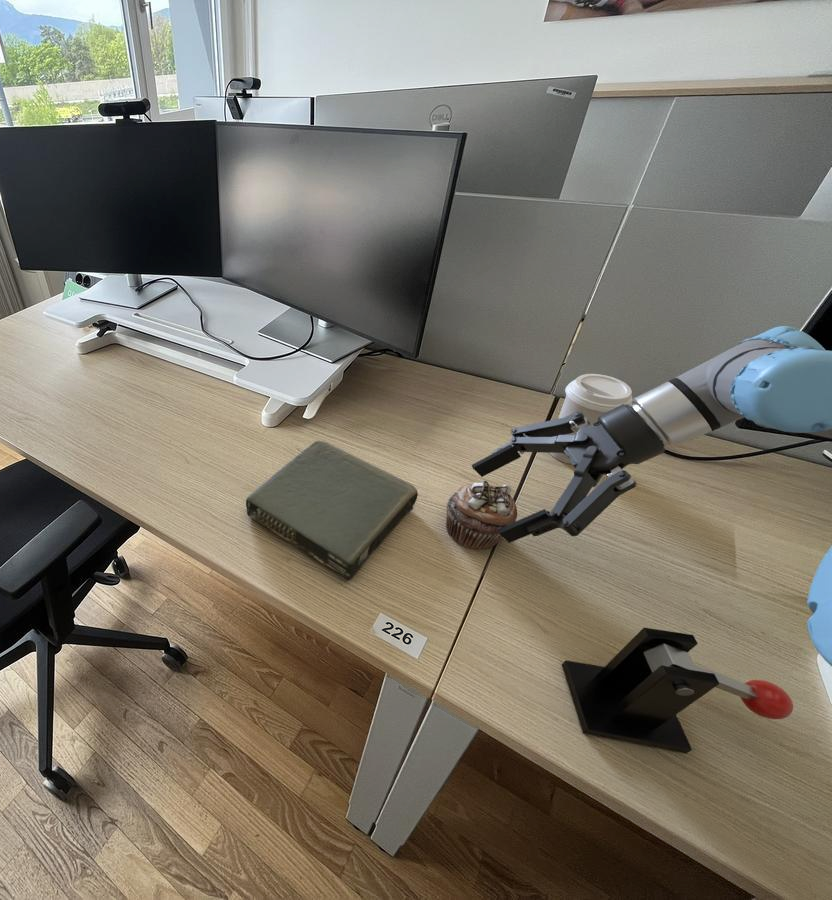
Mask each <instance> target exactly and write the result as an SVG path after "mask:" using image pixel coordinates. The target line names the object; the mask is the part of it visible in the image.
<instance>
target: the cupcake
mask: <svg viewBox="0 0 832 900" xmlns="http://www.w3.org/2000/svg"><path fill="white" fill-rule="evenodd" d="M456 491H457V492H453V494H452V493H451V496H448V497H449V498H448V499H447V502H446V517H445V518H446V519H445V528H446V531H447V533H448V534H447V535H448V536H449V537H450V538H451V539H452V540H453V541H454V542H456V543H458V545H461V546H463V547H464V548H470V549H475V550H480V551H481V550H487V549H491V548H493V547H494V546H496V545H497V544H498V543H499V542H500V541H501V540H502V539H504V538H503V537H502V536H501V535H500V534H499V532H498V530H497V529H500V528H502V527H504V526H507V525H509V524H511V523H513V522H516V521H517V518H518V509H517V504H516V502H515V500H514V498H513V497H512V495H511V493H512V487H511V486H510V485H509V484H503V485H501V486H497V485H493V484H490V483H489V481H486V480H483V481H482V482H473V483H472V484H466V485H463V486H460V487H459V488H458V489H457V490H456Z"/></svg>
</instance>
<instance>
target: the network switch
mask: <svg viewBox="0 0 832 900" xmlns="http://www.w3.org/2000/svg"><path fill="white" fill-rule="evenodd" d="M418 495H419V494H418V490H417V488H416V487H415V486H414V484H412V483H410V482H408V481H406V480H404V479H402V478H400V477H398V476H397V475H394V474H392V473H390V472H388V471H386V470H384V469H382V468H380V467H378V466H376V465H375V464H373V463H370V462H368V461H366V460H364V459H362V458H361V457H358V456H356V455H354V454H353V453H350V452H348V451H345V450H344V449H341V448H340V447H337V446H335V445H334V444H331V443H330V442H327V441H325V440H316V441H314V442H313V443H311V444H310V445H309V446H308V447H306V448H304V449H303V450H302V451H301V452H300V453H298V455H296V456H294V458H293V459H291V460H290V461H288V462H287V463H286V464H285V465H283V466H282V467H281V468H280V469H279V470H278V471H276V472H275V473H274V474H273V475H272V476H270V477H269V478H268V479H267V480H266V481H264V482H263V483H262V484H261V485H260V486H259V487H257V488H256V489H255V490H254V491H253V492H252V493H250V494H249V495H248V496H247V497H246V499H245V507H246V515H247V516H248V517H249V518H252V519H253V520H254V521H256V522H257V523H259V524H260V525H261V526H264V527H265V528H267V529H269V530H270V531H271V532H273V533H274V534H276V535H277V536H279V537H280V538H281V539H283V540H285V541H287V542H289V544H293V545H294V546H295V547H297V548H298V549H299V550H301V551H303V553H306V554H307V555H308V556H309V557H311V558H313V559H315V560H316V561H318V562H319V563H321V565H324V566H326V567H328V568H329V569H331V570H332V571H334V572H336V574H337V573H338V574H339V575H341V576H342V577H344V579H345V581H349V580H351V579H352V578H353V577H354V576H355V575H356V574H357V573H358V571H359V570H360V569H361V568H362V566H363V565H364V563H366V561H367V560H368V559H369V557H370V556H371V555H372V553H374V551H375V550H376V549H377V548H378V547H379V546H380V545H381V544H382V543H383V541H384V540H385V539H386V537H388V535H389V534H390V533H391V532H392V531H393V530H394V529H395V528H396V526H398V524H399V523H400V522H401V521H402V520H403V518H404V517H406V515H407V514H408V512H411V511H413V510H414V505H415V504H416V502H417V499H418Z"/></svg>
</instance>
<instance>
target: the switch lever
mask: <svg viewBox="0 0 832 900" xmlns="http://www.w3.org/2000/svg"><path fill="white" fill-rule="evenodd" d="M643 653H644V655H645V657H646V659H647V662H648V664H649V666H650V668H651V670H652V672H654V671H655V670H656V669H657V668H659V667H660V666H661V665H665V666H671V667H677V668H683V669H689V670H695V671H701V672H707V673H713V674H715V676H716V678H717V679H718V681H719V683H720V684H719V685H717V686H716V687H715V688H716V689H719V690H722V691H724V692H727V693H728V694H731V695H735V696H737V697H740V699H741V701H742V703H743V704H744V705H745V707H746V708H747V709H749V711H751V712H753V713H754V714H756V715H757V716H760V717H762V718H764V719H769V720H783V719H786V718H788V717H789V716H791V715H792V713H793V711H794V702H793V699H792V698H791V696H790V695H789V693H787V691H785V690H784V689H783V688H782V687H781V686H779V685H777V684H775V683H772V682H771V681H768V680H763V679H752V680H748V681H746V682H741V681H739V680H736V679H733V678H731V677H728V676H726V675H723V674H720V673H717V672H715V671H713V670H710V669H708V668H705V667H702V666H700V665H697V664H695V663H694V661H693V659H692V658H691V655H690V653H689V652H685V651H682V650H680V649H677V648H675V647H672V646H670V645H667V644H664V643H663V644H661V645H659V646H656V647H654V648H652V649H649V650H647V651H645V652H643Z"/></svg>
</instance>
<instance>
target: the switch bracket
mask: <svg viewBox="0 0 832 900" xmlns="http://www.w3.org/2000/svg"><path fill="white" fill-rule="evenodd" d="M663 643H664V644H667V645H670V646H672V647H675V648H677V649H680V650H682V651H685V652H688V653H689V652H690V651H692V650H693V649H694V648H696V646H697V645H698V644H699V643H698V641H697V639H696V638H695V635H694V634H690V633H683V632H678V631H677V632H676V631H671V630H664V629H658V628H657V629H656V628H651V627H643V628H641V630H640V631H638V633H636V634H635V636H634V637H632V639H631V640H629V642H628V643H627V644H626V645H625V646H624V647H623V648H622V649H621V650H619V652H618V653H617V654H616V655H615V656H614V657H613V658H612V659H610V660H609V662H608V663H607V664H606V665H605V666H602V665H597V664H589V663H585V662H578V661H572V660H564V661H563V662H562V663H561V667H562V670H563V674H564V677H565V680H566V684H567V687H568V689H569V693H570V696H571V700H572V703H573V706H574V710H575V712H576V716H577V719H578V722H579V725H580V728H581V732H582V734H585V735H590V736H594V737H599V738H605V739H609V740H616V741H620V742H625V743H630V744H635V745H641V746H645V747H650V748H656V749H661V750H664V751H665V750H666V751H671V752H676V753H681V754H689V753H691V752H692V751H693V748H692V746H691V743H690V742H689V739H688V737H687V735H686V733H685V730H684V728H683V726H682V724H681V722H680V720H679V717H678V714H680V713H681V712H683V710H685V709H686V708H688V707H690V706H691V705H692V704H694V703H695V702H696V701H698V700H699V699H700V698H702V697H703V696H705V695H706V694H708V693H709V692H710V691H712V690H714V689H715V688H716V686H717V685H719V684H720V683H719V681H718V679H717V678H716V676H715V674H713V673H707V672H701V671H695V670H689V669H683V668H677V667H671V666H665V665H661V666H660V667H659V668H657V669H656V670H655V671H654V672H652V670H651V668H650V666H649V664H648V662H647V659H646V657H645V655H644V653H643V652H645V651H647V650H649V649H652V648H654V647H656V646H659V645H661V644H663Z"/></svg>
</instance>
